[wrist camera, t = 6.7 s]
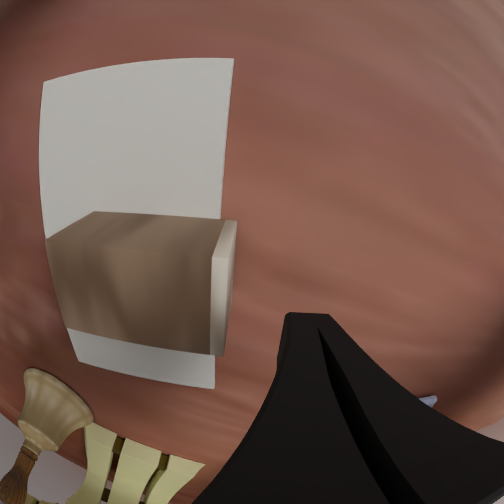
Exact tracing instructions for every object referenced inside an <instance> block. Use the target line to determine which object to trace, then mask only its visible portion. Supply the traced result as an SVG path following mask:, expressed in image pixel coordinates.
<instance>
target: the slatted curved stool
mask: <svg viewBox="0 0 504 504" xmlns="http://www.w3.org/2000/svg"><path fill="white" fill-rule="evenodd" d="M84 436H85V448H86V456H87V460H88V466H87V475H86V479H85V481H84V482H83V484H82V486H81V487H80V488H79V489H78V491H77V492H76V493H75V494H74V495H72V496H71V497H70V498H69V499H67V502H66V504H100V503H101V500H102V501H105V502H107V504H168V502H169V501H170V499H171V498H172V497H173V495H174V494H175V493H176V492H177V491H178V490H179V489H180V488H182V487H183V486H184V485H185V484H186V483H187V482H188V481H190V480H191V479H192V478H193V477H194V476H195V475H196V473H197V472H198V471H199V470H200V469H201V468H202V467H203V466H205V465H206V464H202V463H199V462H195V461H191V460H188V459H184V458H181V457H178V456H174V455H171V454H170V456H169V457H168V456H165V455H162V454H161V452H162V451H159V450H157V449H154V448H151V447H148V446H146V445H143V444H140V443H138V442H135V441H133V440H130V439H128V438H126V439H125V440H123V439H121V438H118V437H117V434H116V433H114V432H112V431H110V430H108V429H106V428H103V427H101V426H99V425H97V424H95V423H92V424H90V425H88V426H86V427H84ZM113 453H116V454H119V455H120V458H119V462H118V466H117V470H116V474H115V477H114V481H113V485H112V488H111V490H109V489H107V488H105V486H106V483H107V480H108V476H109V473H110V469H111V465H112V459H113ZM156 469H159V470H158V472H157V473H156V474H155V476H154V477H153V478H152V480H151V481H150V483H149V485H148V488H147V491H146V494H145V498H144V501H143V502H141V501H140V498H141V495H142V492H143V490H144V488H145V486H146V484H147V482H148V480H149V479H150V477H151V476H152V474H153V473H154V471H155V470H156ZM25 504H58V503H49V502H45V501H42V500H41V501H39V500H37V499H36V498H35V497H33V496H31V495H29V494H28V493H27V496H26V500H25Z"/></svg>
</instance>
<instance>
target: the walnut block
mask: <svg viewBox="0 0 504 504" xmlns="http://www.w3.org/2000/svg"><path fill="white" fill-rule="evenodd" d="M236 231H237V221H235V220H223V219H211V218H198V217H185V216H170V215H155V214H139V213H121V212H101V211H94V212H92V213H90V214H88V215H87V216H85V217H83V218H81V219H79V220H78V221H76V222H74V223H72V224H71V225H69V226H67V227H66V228H64V229H62V230H61V231H59V232H57V233H56V234H54V235H52V236H51V237H49V238H47V239H46V240H45V246H46V252H47V257H48V262H49V267H50V272H51V276H52V281H53V285H54V289H55V293H56V297H57V300H58V304H59V308H60V311H61V315H62V318H63V321H64V324H65V327H66V328H70V329H73V330H77V331H81V332H85V333H89V334H93V335H97V336H102V337H106V338H110V339H115V340H120V341H125V342H130V343H135V344H140V345H145V346H151V347H157V348H163V349H169V350H176V351H183V352H190V353H198V354H206V355H214V356H224V349H225V342H226V335H227V328H228V321H229V314H230V308H231V301H232V287H233V272H234V258H235V244H236Z"/></svg>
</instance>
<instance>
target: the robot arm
mask: <svg viewBox="0 0 504 504" xmlns="http://www.w3.org/2000/svg"><path fill="white" fill-rule="evenodd" d="M436 401H437V397H436V396H435V395H433V396H429V397H423V398H417V397H416V396H414V395H413V394H412V393H410V392H409V391H408V390H406V389H405V388H404V387H402V386H401V385H400V384H399V383H398V382H396V381H395V380H394V379H393V378H392V377H391V376H390V375H388V374H387V373H386V372H385V371H384V370H383V369H382V368H381V367H380V366H379V365H378V364H376V363H375V362H374V361H373V360H372V359H371V358H370V357H369V356H368V355H367V354H366V353H365V352H364V351H363V350H362V349H361V348H360V347H359V346H358V345H357V343H356V342H355V341H354V340H353V339H352V338H351V337H350V336H349V335H348V334H347V333H346V332H345V331H344V330H343V329H342V327H341V326H340V325H339V324H338V323H337V322H336V321H335V320H334V319H333V318H332V317H331V316H330V315H329V314H317V313H297V312H289V313H287V314H286V315H285V319H284V324H283V330H282V335H281V340H280V346H279V351H278V356H277V371H276V375H275V377H274V380H273V383H272V385H271V387H270V390H269V392H268V394H267V396H266V398H265V400H264V403H263V405H262V407H261V409H260V411H259V412H258V414H257V416H256V418H255V420H254V421H253V423H252V425H251V427H250V428H249V430H248V432H247V433H246V435H245V437H244V438H243V440H242V441H241V443H240V444H239V446H238V447H237V449H236V450H235V451H234V453H233V454H232V456H231V457H230V458H229V460H228V461H227V463H226V464H225V465H224V467H223V468H222V469H221V471H220V472H219V473H218V474H217V476H216V477H215V478H214V479H213V481H212V482H211V483H210V484H209V485H208V486H207V487H206V489H205V490H204V491H203V492H202V493H201V494H200V495H199V496H198V497H197V498H196V499H195V501H194V502H193V503H192V504H493V503H494V502H495V501H497V500H498V499H500V498H501V497H503V496H504V442H501V441H498V440H495V439H492V438H489V437H486V436H484V435H482V434H479V433H477V432H475V431H473V430H471V429H468V428H466V427H464V426H462V425H460V424H458V423H457V422H455V421H453V420H451V419H449V418H448V417H446V416H444V415H443V414H441V413H439V412H438V411H436V410H434V409H433V408H432V406H433V405H434V404H435V402H436ZM0 504H4V503H3V502H2V501H0Z"/></svg>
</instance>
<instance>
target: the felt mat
mask: <svg viewBox="0 0 504 504" xmlns="http://www.w3.org/2000/svg"><path fill="white" fill-rule="evenodd" d="M233 66H234V59H232V58H183V59H165V60H153V61H143V62H135V63H127V64H120V65H114V66H108V67H103V68H97V69H92V70H88V71H83V72H79V73H75V74H71V75H67V76H63V77H59V78H56V79H52V80H49V81H45V82H44V84H43V92H42V102H41V113H40V130H39V175H40V193H41V205H42V214H43V223H44V230H45V237H46V239H47V238H49V237H51V236H52V235H54V234H56V233H57V232H59V231H61V230H62V229H64V228H66V227H67V226H69V225H71V224H72V223H74V222H76V221H78V220H79V219H81V218H83V217H85V216H87V215H88V214H90V213H92V212H94V211H101V212H121V213H139V214H155V215H170V216H185V217H198V218H211V219H221V203H222V188H223V174H224V161H225V149H226V137H227V126H228V115H229V104H230V94H231V85H232V75H233ZM67 330H68V333H69V336H70V339H71V342H72V345H73V347H74V350H75V353H76V356H77V358H78V361H79V362H83V363H86V364H89V365H93V366H96V367H100V368H104V369H108V370H112V371H116V372H120V373H124V374H128V375H133V376H137V377H142V378H147V379H152V380H157V381H162V382H168V383H174V384H180V385H187V386H194V387H201V388H209V389H214V387H215V356H214V355H206V354H198V353H190V352H183V351H176V350H169V349H163V348H157V347H151V346H145V345H140V344H135V343H130V342H125V341H120V340H115V339H110V338H106V337H102V336H97V335H93V334H89V333H85V332H81V331H77V330H73V329H70V328H67Z"/></svg>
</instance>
